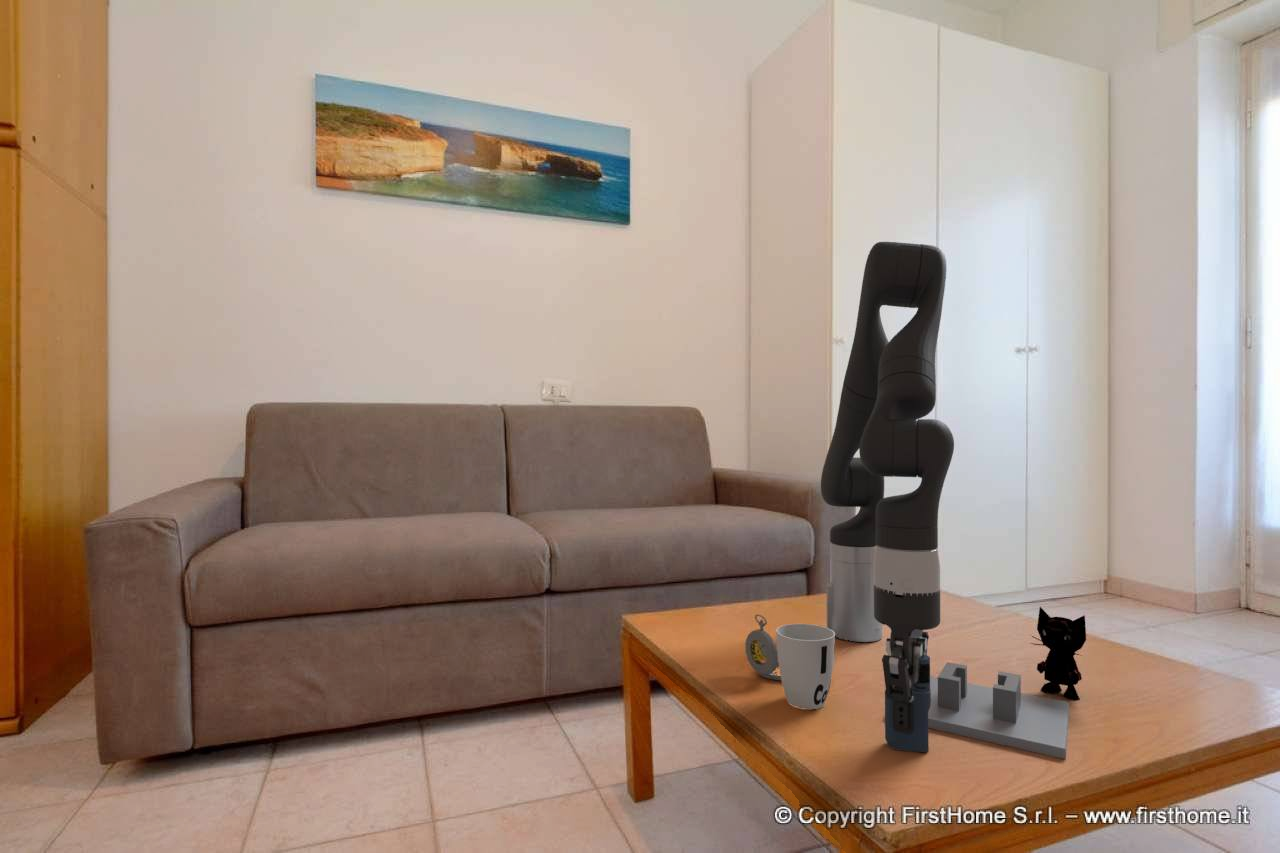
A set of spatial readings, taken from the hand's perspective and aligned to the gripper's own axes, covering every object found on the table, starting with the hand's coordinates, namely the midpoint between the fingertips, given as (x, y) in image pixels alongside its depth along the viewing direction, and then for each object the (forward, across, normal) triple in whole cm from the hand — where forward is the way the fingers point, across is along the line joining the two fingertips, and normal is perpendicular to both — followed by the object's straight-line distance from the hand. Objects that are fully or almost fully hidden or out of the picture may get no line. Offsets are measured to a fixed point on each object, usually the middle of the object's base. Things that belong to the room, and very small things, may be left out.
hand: (906, 725), depth 81 cm
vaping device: (+3, 0, 0) cm, 3 cm away
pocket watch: (+3, -13, -23) cm, 27 cm away
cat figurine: (+3, -30, +15) cm, 34 cm away
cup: (+3, -6, -15) cm, 16 cm away
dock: (+3, -15, +6) cm, 17 cm away
